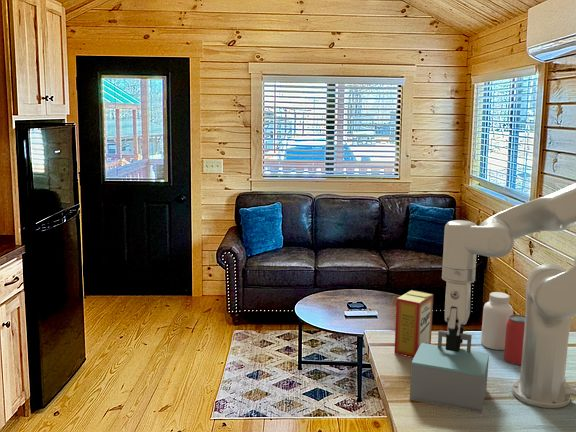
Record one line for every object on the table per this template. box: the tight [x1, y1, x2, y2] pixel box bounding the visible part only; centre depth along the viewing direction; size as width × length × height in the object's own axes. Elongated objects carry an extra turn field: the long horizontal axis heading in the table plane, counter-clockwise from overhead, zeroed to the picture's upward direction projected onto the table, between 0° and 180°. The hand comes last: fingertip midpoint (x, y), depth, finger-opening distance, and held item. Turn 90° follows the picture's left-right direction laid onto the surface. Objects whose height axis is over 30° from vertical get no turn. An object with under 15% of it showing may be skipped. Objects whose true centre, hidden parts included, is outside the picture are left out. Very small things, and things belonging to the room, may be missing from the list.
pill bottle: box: [480, 291, 514, 351], centre depth 171 cm, size 8×8×15 cm
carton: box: [409, 357, 490, 414], centre depth 142 cm, size 16×12×9 cm
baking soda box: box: [394, 289, 434, 359], centre depth 167 cm, size 10×6×16 cm
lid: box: [410, 329, 490, 377], centre depth 141 cm, size 16×12×5 cm
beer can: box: [503, 314, 525, 366], centre depth 161 cm, size 7×7×12 cm
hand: (454, 345), depth 146 cm, fingers open, 4 cm apart
